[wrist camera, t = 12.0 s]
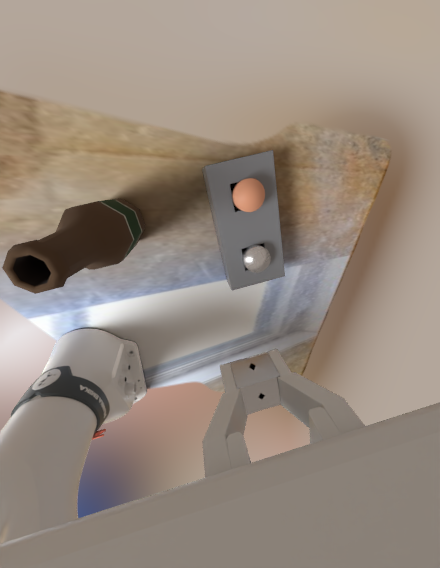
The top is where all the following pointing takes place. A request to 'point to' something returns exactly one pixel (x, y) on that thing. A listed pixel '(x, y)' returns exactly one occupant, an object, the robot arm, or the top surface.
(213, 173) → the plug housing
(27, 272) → the beer bottle
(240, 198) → the mushroom push button
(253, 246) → the grey mushroom plug
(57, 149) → the top surface
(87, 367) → the robot arm
